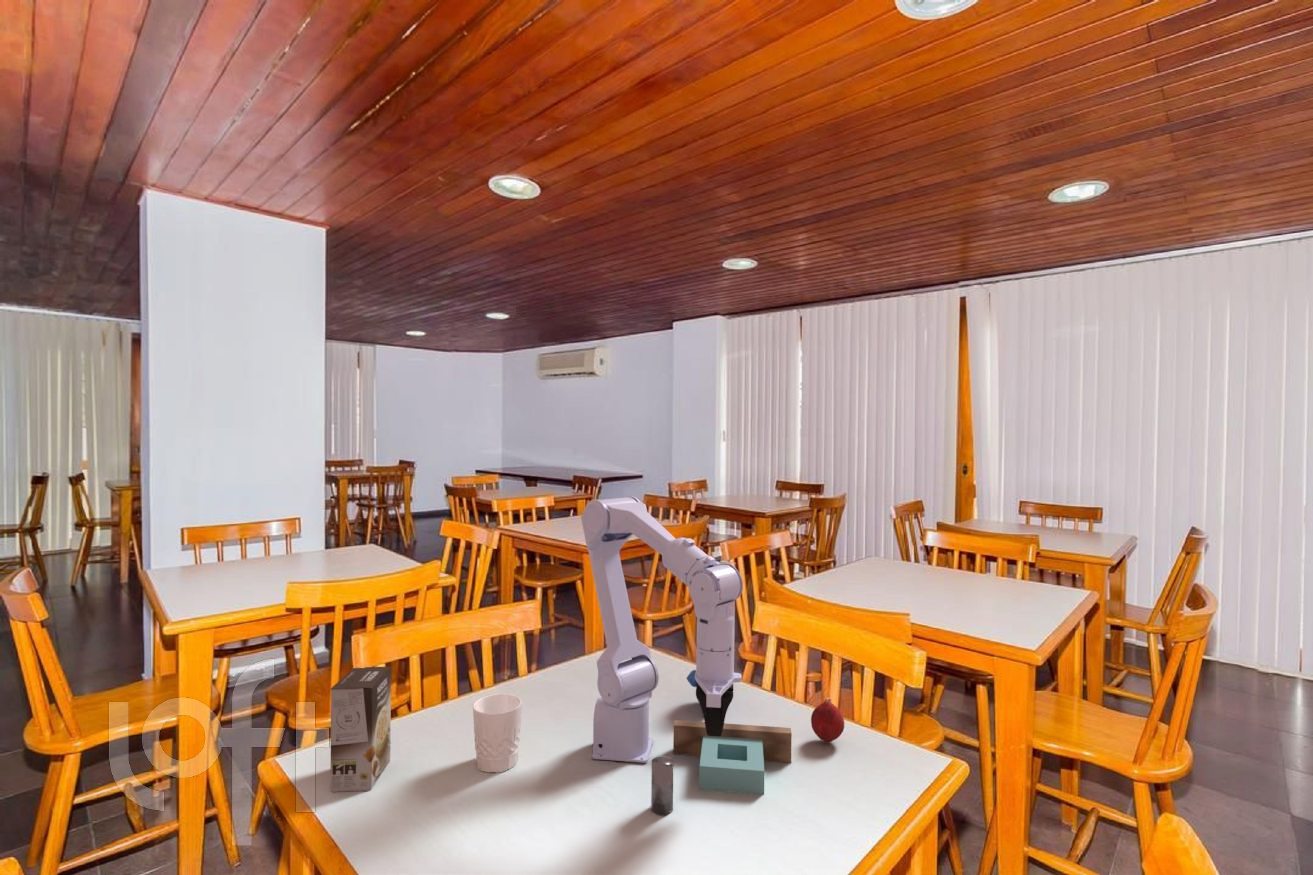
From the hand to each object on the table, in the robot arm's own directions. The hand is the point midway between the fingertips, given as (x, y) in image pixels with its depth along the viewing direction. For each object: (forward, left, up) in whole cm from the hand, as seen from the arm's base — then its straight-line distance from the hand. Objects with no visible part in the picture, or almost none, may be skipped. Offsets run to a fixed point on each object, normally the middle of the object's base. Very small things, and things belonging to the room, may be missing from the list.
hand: (714, 734), depth 97 cm
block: (+3, +7, -10) cm, 13 cm away
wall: (+3, +13, -10) cm, 17 cm away
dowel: (-7, -4, -10) cm, 13 cm away
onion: (+20, +20, -10) cm, 30 cm away
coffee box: (-56, -2, -10) cm, 57 cm away
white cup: (-36, +5, -10) cm, 38 cm away
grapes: (-3, +31, -10) cm, 33 cm away
